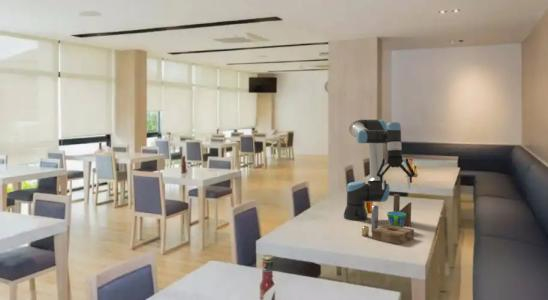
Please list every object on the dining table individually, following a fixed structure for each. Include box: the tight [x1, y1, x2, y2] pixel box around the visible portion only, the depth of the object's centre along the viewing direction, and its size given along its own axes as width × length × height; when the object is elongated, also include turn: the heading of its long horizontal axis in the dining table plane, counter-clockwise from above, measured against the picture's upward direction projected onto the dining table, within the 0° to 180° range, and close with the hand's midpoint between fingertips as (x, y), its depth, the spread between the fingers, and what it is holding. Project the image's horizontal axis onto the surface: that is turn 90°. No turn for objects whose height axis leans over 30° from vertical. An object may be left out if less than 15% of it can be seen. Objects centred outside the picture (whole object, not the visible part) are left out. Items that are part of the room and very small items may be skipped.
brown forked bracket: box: [392, 193, 412, 227], centre depth 272 cm, size 4×11×18 cm, turn 49°
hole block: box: [371, 224, 415, 246], centre depth 240 cm, size 16×16×5 cm
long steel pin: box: [370, 205, 379, 233], centre depth 253 cm, size 4×4×15 cm
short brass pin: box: [361, 225, 370, 238], centre depth 246 cm, size 4×4×5 cm
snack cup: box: [386, 211, 406, 228], centre depth 257 cm, size 16×10×10 cm
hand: (396, 189), depth 243 cm, fingers open, 13 cm apart
